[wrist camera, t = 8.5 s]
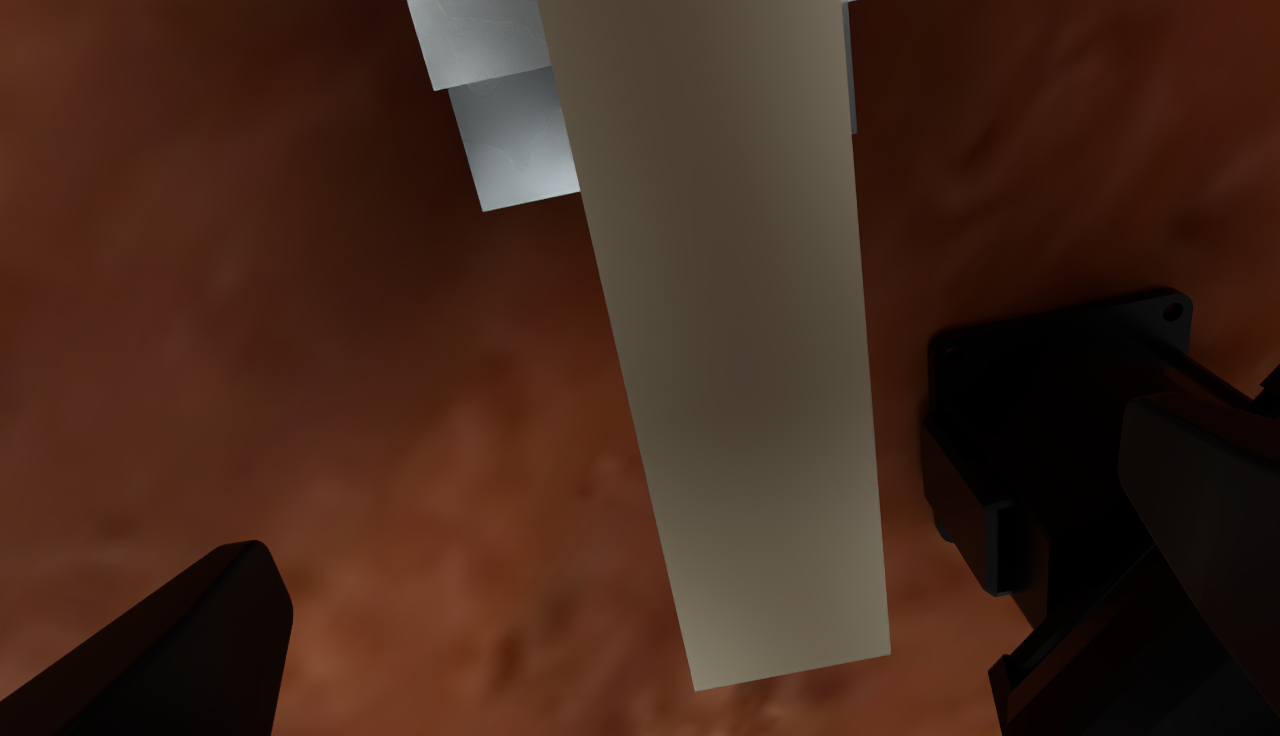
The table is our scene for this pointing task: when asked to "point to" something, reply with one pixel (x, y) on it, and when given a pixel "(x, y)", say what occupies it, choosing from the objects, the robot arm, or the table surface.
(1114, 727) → the robot arm
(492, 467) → the table surface
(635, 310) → the batten
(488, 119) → the fulcrum
